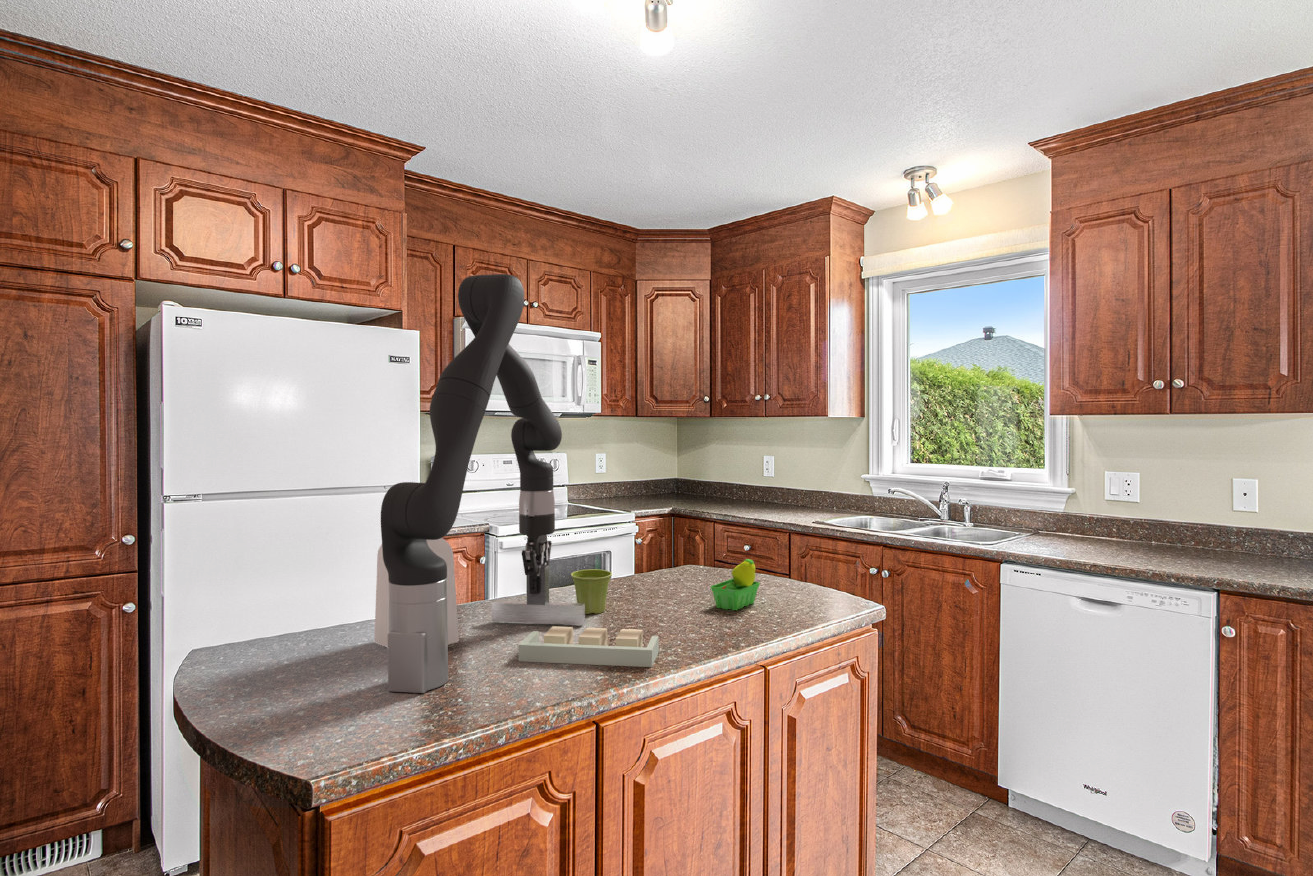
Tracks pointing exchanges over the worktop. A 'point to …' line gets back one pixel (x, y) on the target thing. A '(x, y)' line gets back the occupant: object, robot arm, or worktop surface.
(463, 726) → the worktop surface
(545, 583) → the t-shaped handle
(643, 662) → the tray
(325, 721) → the worktop surface
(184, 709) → the worktop surface
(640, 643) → the block right
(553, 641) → the block left
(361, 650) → the worktop surface
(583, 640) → the block middle
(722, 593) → the fruit basket
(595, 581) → the plant pot
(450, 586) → the milk
